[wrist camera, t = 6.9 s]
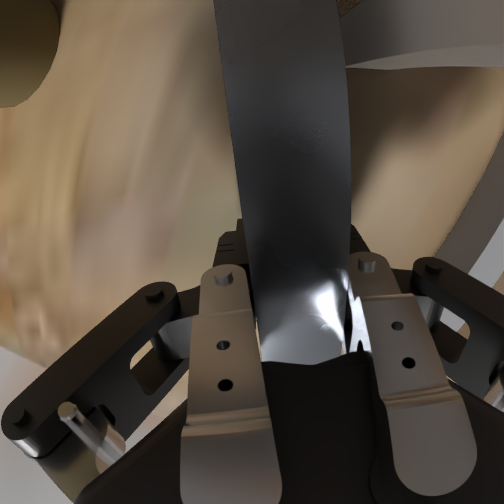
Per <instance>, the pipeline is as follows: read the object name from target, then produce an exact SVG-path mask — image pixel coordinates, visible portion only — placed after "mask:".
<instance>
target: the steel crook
mask: <svg viewBox="0 0 504 504" xmlns="http://www.w3.org/2000/svg"><path fill="white" fill-rule="evenodd" d="M214 8H215V16H216V24H217V31H218V39H219V47H220V54H221V62H222V70H223V77H224V85H225V92H226V100H227V107H228V115H229V122H230V130H231V137H232V145H233V152H234V159H235V167H236V174H237V181H238V189H239V196H240V203H241V211H242V218H243V225H244V232H245V240H246V247H247V254H248V261H249V268H250V276H251V283H252V290H253V297H254V304H255V311H256V318H257V325H258V332H259V339H260V346H261V353H262V360H263V361H276V362H285V363H295V364H305V365H315V364H318V363H321V362H324V361H327V360H330V359H333V358H336V357H339V356H341V348H342V340H343V331H344V321H345V311H346V300H347V287H348V273H349V255H350V232H351V143H350V120H349V104H348V90H347V78H346V68H345V58H344V49H343V41H342V33H341V26H340V19H339V12H338V6H337V0H214Z"/></svg>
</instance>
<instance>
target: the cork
mask: <svg viewBox="0 0 504 504" xmlns="http://www.w3.org/2000/svg"><path fill="white" fill-rule="evenodd" d="M59 34H60V28H59V16H58V13H57V11H56V9H55V7H54V5H53V3H51V2H50V1H49V0H0V108H5V107H14V106H16V105H18V104H20V103H22V102H23V101H25V100H27V99H28V98H29V97H30V96H31V95H32V94H33V93H34V92H35V91H36V90H37V89H38V88H39V86H40V85H41V83H42V81H43V80H44V78H45V76H46V75H47V73H48V72H49V70H50V67H51V64H52V62H53V59H54V57H55V54H56V52H57V46H58V40H59Z"/></svg>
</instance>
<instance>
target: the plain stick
mask: <svg viewBox="0 0 504 504" xmlns="http://www.w3.org/2000/svg"><path fill="white" fill-rule="evenodd" d="M434 258H438V259H441V260H443V261H445V262H447V263H449V264H451V265H453V266H454V267H456V268H458V269H460V270H461V271H463V272H465V273H467V274H469V275H470V276H472V277H474V278H476V279H477V280H479V281H481V282H482V283H484V284H486V285H487V286H489V287H491V288H492V287H493V285H494V284H495V282H496V281H497V280H498V278H499V277H500V275H501V274H502V272H503V271H504V133H503V135H502V138H501V140H500V142H499V144H498V146H497V149H496V151H495V153H494V155H493V157H492V159H491V161H490V163H489V165H488V167H487V169H486V171H485V173H484V175H483V177H482V179H481V181H480V182H479V184H478V186H477V188H476V190H475V192H474V194H473V195H472V197H471V199H470V201H469V202H468V204H467V206H466V208H465V209H464V211H463V213H462V214H461V216H460V218H459V219H458V221H457V223H456V224H455V226H454V227H453V229H452V231H451V232H450V234H449V235H448V237H447V239H446V240H445V242H444V243H443V245H442V246H441V248H440V249H439V251H438V252H437V254H436V255H435V257H434ZM440 321H441V322H443V323H444V324H446V325H447V326H449V327H450V328H451V329H453V330H454V331H456V332H457V331H458V330H459V329H460V327H461V326H462V325H463V324H464V323H465V321H464V320H463V319H461V318H460V317H458V316H457V315H455V314H454V313H452V312H451V311H449V310H448V309H446V308H445V307H444V309H443V312H442V316H441V319H440Z"/></svg>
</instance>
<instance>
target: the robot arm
mask: <svg viewBox="0 0 504 504" xmlns="http://www.w3.org/2000/svg"><path fill="white" fill-rule="evenodd" d="M444 307H445V308H446V309H448V310H449V311H451V312H452V313H454V314H455V315H457V316H458V317H460V318H461V319H463V320H464V321H465V322H466V323H467V324H468V326H469V328H470V336H469V338H468V340H467V339H466V338H464V337H463V336H461V335H460V334H459V333H457V332H456V331H454V330H453V329H451V328H450V327H449V326H447V325H446V324H444V323H443V322H441V321H440V319H441V316H442V312H443V309H444ZM256 321H257V318H256V311H255V304H254V297H253V290H252V283H251V276H250V268H249V261H248V254H247V247H246V240H245V232H244V225H243V218H240V219H238V220H237V227H236V231H230V232H225V233H224V234H223V235H222V236H221V237H220V238H219V241H218V247H217V250H216V254H215V258H214V263H213V267H212V268H211V269H209V270H207V271H206V272H205V273H204V274H203V275H202V277H201V285H199V286H198V287H195V288H192V289H189V290H186V291H182V292H178V293H177V290H176V287H175V286H174V285H173V284H172V283H169V282H155V283H151V284H148V285H146V286H144V287H142V288H141V289H140V290H138V291H137V292H136V293H135V294H134V295H132V296H131V297H130V298H129V299H128V300H126V301H125V302H124V303H123V304H122V305H120V306H119V307H118V308H117V309H116V310H114V311H113V312H112V313H111V314H110V315H108V316H107V317H106V318H105V319H104V320H103V321H101V322H100V323H99V324H98V325H97V326H96V327H94V328H93V329H92V330H91V331H90V332H89V333H87V334H86V335H85V336H84V337H83V338H82V339H80V340H79V341H78V342H77V343H76V344H75V345H74V346H72V347H71V348H70V349H69V350H68V351H67V352H66V353H65V354H63V355H62V356H61V357H60V358H59V359H58V360H57V361H56V362H54V363H53V364H52V365H51V366H50V367H49V368H48V369H47V370H46V371H45V372H43V373H42V374H41V375H40V376H39V377H38V378H37V379H36V380H35V381H33V382H32V383H31V384H30V385H29V386H28V387H27V388H26V389H25V390H24V391H23V392H22V393H21V394H20V395H18V396H17V397H16V398H15V399H14V400H13V401H12V402H11V403H10V404H9V405H8V406H7V408H6V409H5V411H4V413H3V415H2V420H1V427H2V431H3V433H4V435H5V436H6V437H7V438H8V439H10V440H11V441H12V442H13V443H14V444H15V445H16V446H17V447H19V448H20V449H21V450H22V451H23V452H24V453H25V454H26V455H27V456H28V457H29V458H30V459H32V460H33V461H34V462H35V463H37V464H38V465H39V466H41V467H42V468H43V470H44V471H45V472H46V473H47V475H48V476H49V477H50V478H51V479H52V480H53V481H54V483H55V484H56V485H57V486H58V487H59V488H60V490H61V491H62V492H63V493H64V494H65V495H66V496H67V497H68V498H69V499H70V500H71V501H72V502H73V503H74V504H504V295H502V294H501V293H499V292H497V291H496V290H494V289H492V288H491V287H489V286H487V285H486V284H484V283H482V282H481V281H479V280H477V279H476V278H474V277H472V276H470V275H469V274H467V273H465V272H463V271H461V270H460V269H458V268H456V267H454V266H453V265H451V264H449V263H447V262H445V261H443V260H441V259H438V258H434V257H422V258H419V259H417V260H416V261H415V262H414V264H413V269H412V270H401V269H393V268H391V267H390V265H389V263H388V261H387V259H386V258H385V257H383V256H382V255H380V254H377V253H374V252H371V251H370V250H369V248H368V247H367V245H366V243H365V242H364V240H363V239H362V237H361V236H360V234H359V233H358V231H357V229H356V228H355V226H353V225H352V224H351V232H350V255H349V273H348V287H347V300H346V311H345V321H344V331H343V340H342V344H343V352H344V355H341V356H339V357H336V358H333V359H330V360H327V361H324V362H321V363H318V364H315V365H305V364H295V363H285V362H276V361H263V362H261V360H260V354H259V349H258V343H257V337H256V331H255V330H256ZM149 340H150V341H151V343H152V346H153V348H152V349H151V350H150V351H149V352H148V353H147V354H146V355H145V356H144V357H143V358H142V359H141V360H140V361H139V362H138V363H137V364H136V365H135V366H134V367H133V368H132V369H131V370H130V362H131V359H132V357H133V356H134V355H135V354H136V353H137V352H138V351H139V350H140V349H141V348H142V347H143V346H144V345H145V344H146V343H147V342H148V341H149ZM188 369H189V377H188V398H187V399H186V400H185V401H184V402H183V403H182V404H181V405H180V406H178V407H177V408H176V409H175V410H174V411H173V412H172V413H171V414H170V415H169V416H167V417H166V418H165V419H164V420H163V421H162V422H161V423H160V424H159V425H158V426H157V427H155V428H154V429H153V430H152V431H151V432H150V433H148V434H147V435H146V436H145V437H144V438H143V439H142V440H140V441H139V442H138V443H137V444H136V445H135V446H134V447H132V448H131V449H130V450H129V451H128V452H126V453H125V447H126V446H125V441H126V440H127V439H128V438H129V437H130V436H131V434H132V433H133V432H134V431H135V430H136V429H137V428H138V427H139V425H140V424H141V423H142V422H143V421H144V420H145V419H146V417H147V416H148V415H149V414H150V413H151V412H152V411H153V409H154V408H155V407H156V406H157V405H158V404H159V403H160V401H161V400H162V399H163V398H164V397H165V396H166V395H167V393H168V392H169V391H170V390H171V389H172V388H173V386H174V385H175V384H176V383H177V382H178V381H179V379H180V378H181V377H182V376H183V375H184V374H185V372H186V371H187V370H188ZM446 375H447V376H448V377H449V378H450V379H452V380H453V381H454V382H455V383H454V382H453V381H451V380H449V379H448V378H447V376H446ZM456 383H457V384H458V385H457V384H456ZM124 453H125V454H124Z"/></svg>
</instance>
